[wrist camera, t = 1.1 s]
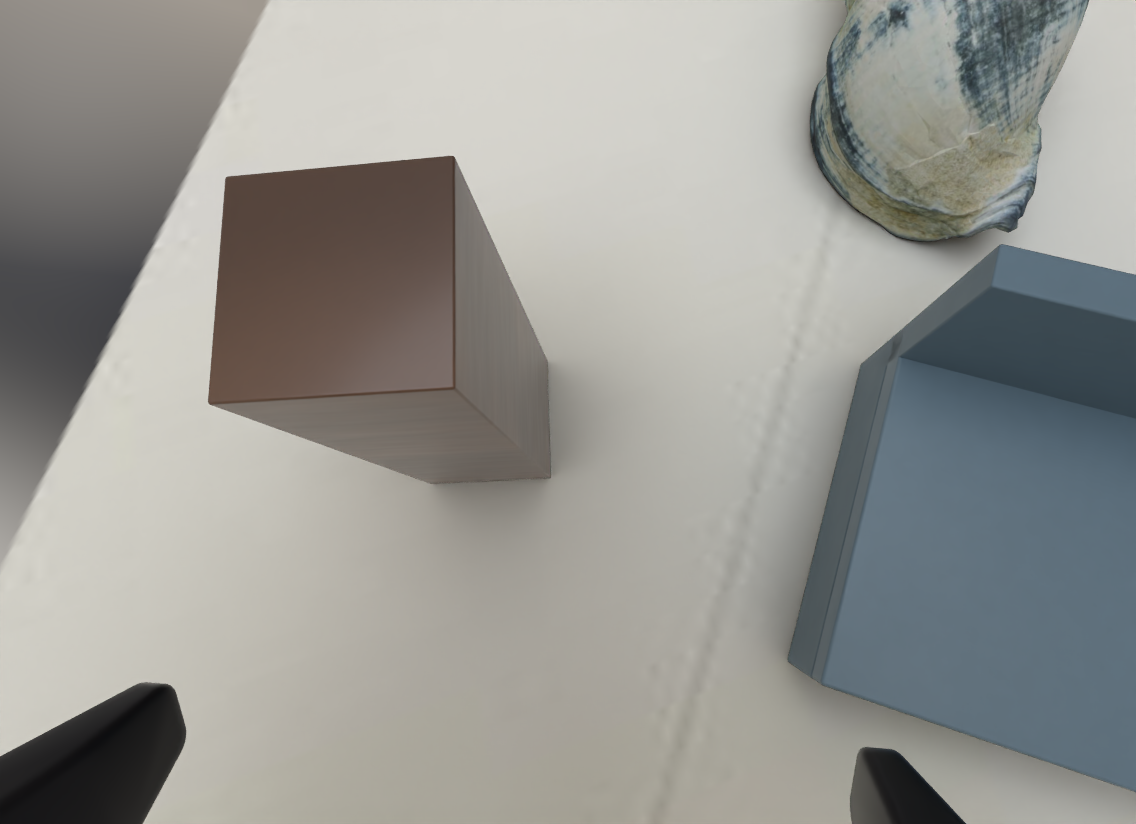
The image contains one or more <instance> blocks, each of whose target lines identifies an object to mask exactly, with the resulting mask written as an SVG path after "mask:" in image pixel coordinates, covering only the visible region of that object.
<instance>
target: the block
mask: <svg viewBox="0 0 1136 824" xmlns="http://www.w3.org/2000/svg"><path fill="white" fill-rule="evenodd" d="M208 403H209V404H210V405H213V406H216V407H218V408H221V409H224V410H227V411H229V412H232V413H235V414H238V415H241V416H243V417H246V418H249V419H252V420H255V421H257V422H260V423H263V424H266V425H269V426H271V427H274V428H277V429H280V430H282V431H285V432H288V433H291V434H294V435H296V436H299V437H302V438H305V439H308V440H310V441H313V442H316V443H319V444H322V445H324V446H327V447H330V448H333V449H335V450H338V451H341V452H344V453H347V454H349V455H352V456H355V457H358V458H361V459H363V460H366V461H369V462H372V463H375V464H377V465H380V466H383V467H386V468H388V469H391V470H394V471H397V472H400V473H402V474H405V475H408V476H411V477H414V478H416V479H419V480H422V481H425V482H428V483H430V484H440V483H460V482H480V481H500V480H521V479H541V478H551V462H550V431H549V400H548V369H547V359H546V357H545V354H544V352H543V350H542V348H541V346H540V343H539V341H538V339H537V337H536V335H535V332H534V330H533V328H532V326H531V324H530V322H529V319H528V317H527V315H526V313H525V311H524V308H523V306H522V304H521V302H520V300H519V297H518V295H517V293H516V291H515V289H514V286H513V284H512V282H511V280H510V278H509V275H508V273H507V271H506V269H505V267H504V264H503V262H502V260H501V258H500V256H499V253H498V251H497V249H496V247H495V245H494V243H493V240H492V238H491V236H490V234H489V232H488V229H487V227H486V225H485V223H484V221H483V218H482V216H481V214H480V212H479V210H478V207H477V205H476V203H475V201H474V199H473V196H472V194H471V192H470V190H469V188H468V185H467V183H466V181H465V179H464V177H463V175H462V172H461V170H460V168H459V166H458V164H457V161H456V159H455V157H454V156H444V157H434V158H423V159H412V160H401V161H391V162H380V163H369V164H358V165H348V166H337V167H326V168H315V169H305V170H294V171H283V172H272V173H262V174H251V175H240V176H229V177H226V179H225V191H224V204H223V217H222V230H221V243H220V255H219V268H218V281H217V294H216V307H215V320H214V333H213V346H212V358H211V371H210V384H209V397H208Z"/></svg>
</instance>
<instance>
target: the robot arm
mask: <svg viewBox="0 0 1136 824" xmlns="http://www.w3.org/2000/svg"><path fill="white" fill-rule="evenodd" d="M185 739H186V726H185V723H184V719H183V716H182V712H181V709H180V705H179V702H178V698H177V694H176V692H175V690H174V688H173V687H172V686H171V685H168V684H160V683H148V682H145V683H139V684H137V685H135V686H133V687H131V688H129V689H127V690H125V691H123V692H121V693H119V694H117V695H116V696H114V697H112V698H110V699H108V700H106V701H104V702H102V703H100V704H99V705H97V706H95V707H93V708H91V709H89V710H87V711H85V712H83V713H82V714H80V715H78V716H76V717H74V718H72V719H70V720H68V721H66V722H65V723H63V724H61V725H59V726H57V727H55V728H53V729H51V730H49V731H47V732H46V733H44V734H42V735H40V736H38V737H36V738H34V739H32V740H30V741H29V742H27V743H25V744H23V745H21V746H19V747H17V748H15V749H13V750H12V751H10V752H8V753H6V754H4V755H2V756H0V824H143V822H144V820H145V818H146V816H147V814H148V813H149V811H150V809H151V807H152V805H153V803H154V801H155V800H156V798H157V796H158V794H159V792H160V790H161V788H162V786H163V785H164V783H165V781H166V779H167V777H168V775H169V773H170V772H171V770H172V768H173V766H174V764H175V762H176V760H177V759H178V757H179V755H180V753H181V751H182V749H183V746H184V743H185ZM850 812H851V820H852V824H966V823H965V822H964V821H963V820H962V819H961V818H960V817H959V816H958V815H957V814H956V813H955V811H954V810H953V809H952V808H951V807H950V806H949V805H948V804H947V803H946V802H945V801H944V800H943V799H942V798H941V797H940V795H939V794H938V793H937V792H936V791H935V790H934V789H933V788H932V787H931V786H930V785H929V784H928V783H927V782H926V781H925V779H924V778H923V777H922V776H921V775H920V774H919V773H918V772H917V771H916V770H915V769H914V768H913V767H912V766H911V765H910V763H909V762H908V761H907V760H906V759H905V758H904V757H903V756H902V755H901V754H900V753H898V752H897V751H895V750H892V749H882V748H871V747H864V748H862V749H860V751H859V753H858V755H857V760H856V766H855V772H854V777H853V783H852V789H851V795H850Z"/></svg>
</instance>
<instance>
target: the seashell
mask: <svg viewBox="0 0 1136 824" xmlns="http://www.w3.org/2000/svg"><path fill="white" fill-rule="evenodd" d="M1088 2H1089V0H845V4H846V7H847V11H848V15H847V17H846V20H845V24H844V25H843V26H842V28H841V29H840V30H839V32H838V34H837V35H836V37H835V38H834V40H833V42H832V44H831V47H830V50H829V53H828V56H827V73H826V75H825V76H824V78H823V79H822V80H821V81H820V83H819V84H818V86H817V88H816V90H815V93H814V97H813V100H812V106H811V115H810V134H811V143H812V146H813V150H814V154H815V156H816V159H817V162H818V165H819V167H820V169H821V170H822V172H823V174H824V175H825V177H826V178H827V179H828V181H829V182H830V183H831V184H832V186H833V187H834V188H835V189H836V190H837V192H838V193H839V194H840V195H841V196H842V197H843V198H844V199H845V200H846V201H847V202H848V203H849V204H851V205H852V206H853V207H854V208H856V209H857V210H859V211H860V212H861V213H863V214H865V215H866V216H868V217H869V218H871V219H873V220H874V221H876V222H877V223H879V224H881V225H882V226H883V227H884V228H885V229H886V230H887V231H888V232H890V233H892V234H893V235H895V236H897V237H901V238H905V239H910V240H916V241H937V240H940V239H943V238H944V239H949V238H950V237H952V236H956V237H960V238H966V237H971V236H973V235H975V234H977V233H979V232H981V231H984V230H986V229H992V228H997V229H999V230H1002V231H1005V232H1008V233H1009V232H1011V231H1012V230H1014V229H1016V228H1017V225H1018V219H1019V218H1020V217H1022V216H1023V214H1024V211H1025V208H1026V205H1027V202H1028V201H1029V199H1030V198H1031V197H1032V195H1033V192H1034V189H1035V183H1036V174H1037V163H1038V157H1039V154H1040V151H1041V128H1040V126H1039V124H1038V123H1037V120H1038V114H1039V111H1040V109H1041V106H1042V104H1043V102H1044V100H1045V98H1046V96H1047V95H1048V93H1049V91H1050V89H1051V87H1052V86H1053V84H1054V82H1055V80H1056V78H1057V76H1058V74H1059V72H1060V70H1061V68H1062V66H1063V64H1064V62H1065V60H1066V58H1067V56H1068V53H1069V51H1070V49H1071V46H1072V44H1073V42H1074V40H1075V37H1076V35H1077V33H1078V30H1079V28H1080V26H1081V23H1082V20H1083V17H1084V14H1085V11H1086V8H1087V5H1088Z"/></svg>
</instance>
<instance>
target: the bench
mask: <svg viewBox="0 0 1136 824" xmlns="http://www.w3.org/2000/svg"><path fill="white" fill-rule="evenodd" d="M788 662H789V663H791V664H792V665H794V666H795V667H797V668H798V669H799V670H801V671H802V672H804V673H805V674H807V675H808V676H810V677H811V678H812V679H814V680H816V681H817V682H819V683H820V684H822V685H823V686H826V687H829V688H832V689H835V690H838V691H841V692H843V693H846V694H849V695H852V696H855V697H858V698H861V699H864V700H867V701H870V702H873V703H876V704H879V705H882V706H885V707H887V708H890V709H893V710H896V711H899V712H902V713H905V714H908V715H911V716H914V717H917V718H920V719H923V720H926V721H929V722H932V723H934V724H937V725H940V726H943V727H946V728H949V729H952V730H955V731H958V732H961V733H964V734H967V735H970V736H973V737H976V738H978V739H981V740H984V741H987V742H990V743H993V744H996V745H999V746H1002V747H1005V748H1008V749H1011V750H1014V751H1017V752H1020V753H1022V754H1025V755H1028V756H1031V757H1034V758H1037V759H1040V760H1043V761H1046V762H1049V763H1052V764H1055V765H1058V766H1061V767H1064V768H1066V769H1069V770H1072V771H1075V772H1078V773H1081V774H1084V775H1087V776H1090V777H1093V778H1096V779H1099V780H1102V781H1105V782H1108V783H1110V784H1113V785H1116V786H1119V787H1122V788H1125V789H1128V790H1131V791H1134V792H1136V275H1134V274H1129V273H1125V272H1121V271H1116V270H1112V269H1108V268H1103V267H1099V266H1095V265H1090V264H1086V263H1082V262H1077V261H1073V260H1069V259H1064V258H1060V257H1056V256H1051V255H1047V254H1043V253H1038V252H1034V251H1030V250H1025V249H1021V248H1016V247H1012V246H1008V245H1003V244H1001V245H999V246H998V247H997V248H996V249H994V250H993V251H992V252H991V253H990V254H989V255H987V256H986V257H985V258H984V259H983V260H982V261H980V262H979V263H978V264H977V265H976V266H975V267H973V268H972V269H971V270H970V271H969V272H968V273H967V274H965V275H964V276H963V277H962V278H961V279H960V280H958V281H957V282H956V283H955V284H954V285H953V286H951V287H950V288H949V289H948V290H947V291H946V292H945V293H943V294H942V295H941V296H940V297H939V298H938V299H936V300H935V301H934V302H933V303H932V304H931V305H929V306H928V307H927V308H926V309H925V310H924V311H922V312H921V313H920V314H919V315H918V316H917V317H916V318H914V319H913V320H912V321H911V322H910V323H909V324H907V325H906V326H905V327H904V328H903V329H902V330H900V331H899V332H898V333H897V334H896V335H895V336H893V337H892V338H891V339H890V340H889V341H888V342H887V343H885V344H884V345H883V346H882V347H881V348H880V349H878V350H877V351H876V352H875V353H874V354H873V355H871V356H870V357H869V358H868V359H867V360H866V361H865V362H863V363H862V364H861V367H860V371H859V375H858V379H857V383H856V387H855V392H854V396H853V400H852V404H851V408H850V412H849V416H848V420H847V424H846V428H845V432H844V436H843V440H842V444H841V448H840V452H839V456H838V460H837V464H836V468H835V472H834V476H833V480H832V484H831V488H830V492H829V496H828V500H827V504H826V508H825V512H824V516H823V520H822V524H821V528H820V532H819V536H818V540H817V544H816V548H815V552H814V556H813V560H812V564H811V568H810V572H809V576H808V580H807V584H806V588H805V592H804V596H803V600H802V604H801V608H800V612H799V616H798V620H797V624H796V628H795V632H794V636H793V640H792V644H791V648H790V652H789V656H788Z"/></svg>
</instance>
